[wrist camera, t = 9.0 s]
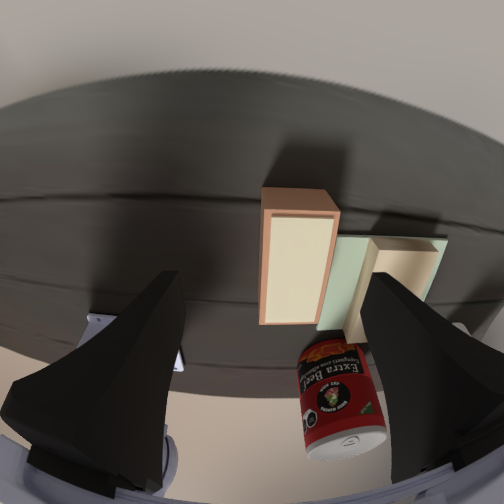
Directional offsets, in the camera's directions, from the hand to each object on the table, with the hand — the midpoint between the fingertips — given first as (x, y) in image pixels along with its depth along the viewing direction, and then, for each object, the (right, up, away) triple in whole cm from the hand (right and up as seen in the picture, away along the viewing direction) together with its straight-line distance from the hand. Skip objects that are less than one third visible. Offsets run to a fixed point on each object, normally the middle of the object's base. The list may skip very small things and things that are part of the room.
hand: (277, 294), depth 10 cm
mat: (+11, -1, +13) cm, 17 cm away
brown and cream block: (+2, +2, +11) cm, 11 cm away
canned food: (+8, -10, +19) cm, 23 cm away
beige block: (+11, -2, +13) cm, 17 cm away
